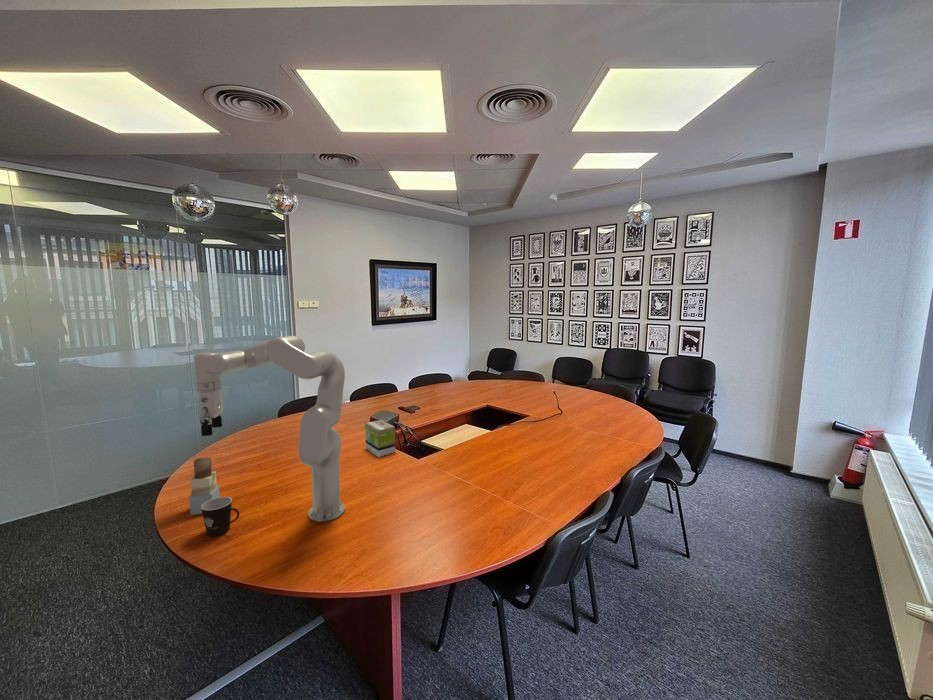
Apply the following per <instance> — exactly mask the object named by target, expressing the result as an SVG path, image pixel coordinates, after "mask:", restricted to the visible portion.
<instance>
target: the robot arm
mask: <svg viewBox="0 0 933 700" xmlns="http://www.w3.org/2000/svg"><path fill="white" fill-rule="evenodd" d="M305 350H306V344H305V342H304V341H303V339H302V338H300V337H299V336H296V335H287V336H286V335H285V336H278V337H274V338H271V339H269V340H266V341H262V342H258V343H255V344H254V346H253V347H249V348H243V349H240V350H232V351H227V352H221V353H218V352H212V351H211V352H208V351H207V352H206V351H205V352H200V353H199V352H198V353H196V354H195V355H194V356H193V359H194V372H195V375H194V376H195V386H196V387H195V388H196V392H198V413H199V417H198V418H199V422H200V428H201V429H200V431H201V436H202V437H207V436H208V437H209V436H213V429H214V428H221V427H222V426H223V421H222V420H223V417H222V414H223V412H224V402H223V401H224V400H223V394H222V378H221V375H226V374H230V373H235V372H239V371H243V370H246V369H250V368H256V367H261V366H262V367H266V366H270V365H271V366H272V365H274V364H275V365H277V366H278V367H280V368H282V369H283V370H285V371H287V372H289V373H290V374H292V375H293V376H295V377H298V378H300V379H303V380H312V379H316V378H318V377H320V381H319V385H318V387H317V396H316V397H317V398H316V401H315V402H316V403H315V405H314V406H312V407H310V408H308V409H307V410H306V411H305V412H304V413H303V415H302V417H301V420H300V425H299V432H298V433H299V435H298V445H297V446H298V447H297V453H298V458H299V460H300V462H301V463H302V464H303V465H305V466H307V467H311V488H312V489H311V490H312V493H311V494H312V495H311V496H312V507H310V509H309V510H308V513H307V515H308V518H309V519H310V520H311V521H314V522H318V523H321V522H322V523H323V522H329V521H333V520H336V519H337V518H339V517H340V516H342V515H343V514H344V512H345V507H346V506H345V504H344V503H343V502H341V487H340V486H341V484H340V483H341V481H340V480H341V479H340V476H341V475H340V473H341V471H340V469H341V467H340V458H341V456H340V455H341V449H342V438H341V435H340V434H339V432H338V430H336V429H335V428H333V427H334V426H336V425H337V424H338V423H339V422H340V419H341V415H342V408H343V407H342V406H343V396H344V394H343V393H344V385H345V378H346V377H345V376H346V373H345V367H344V364H343V362H342V360H341V359H340V358H339V357H338V356H337V355H336V354H334V353H333V352H330V351H327V350H320V351H316V352H315V351H314V352H311V353H306V352H305Z"/></svg>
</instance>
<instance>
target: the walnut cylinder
mask: <svg viewBox="0 0 933 700" xmlns="http://www.w3.org/2000/svg"><path fill="white" fill-rule="evenodd" d="M212 470H213V469H212V458H211V457H208V456H206V457H200V458H197V459H194V460H193V471H194V476H195V478H196V479H202V478H206V477H209V476H211V475H212V472H213V471H212Z"/></svg>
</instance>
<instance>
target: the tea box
mask: <svg viewBox="0 0 933 700" xmlns="http://www.w3.org/2000/svg"><path fill="white" fill-rule="evenodd" d="M364 427H365V428H364V429H365V449H366V450H367V451H369V452H370V453H372V454H373V455H374V456H376V457H377V458H381V456H382V457H385V456H384V455H386V456H388V455H387V454H389V455H391V454H390V453H392V454H394V453H393V452H395V453H396V427H395V425H393V424H390V422H386V420H383V419H379V420H374V421H373V420H372V421H370V422H366V423H364Z"/></svg>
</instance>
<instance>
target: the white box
mask: <svg viewBox="0 0 933 700" xmlns="http://www.w3.org/2000/svg"><path fill="white" fill-rule="evenodd" d="M218 497H221V496H220V486H219V485H217V487H216V488H215V489H214V490H213V492H212V493H211V494H205V495H196V496H192V495H191V494H190V495H189V510H190V511H189V513H190V516H193V515H202V510H201V506H202V504H203V503H205V502H206V501H208V500H211V499H214V498H218Z"/></svg>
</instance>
